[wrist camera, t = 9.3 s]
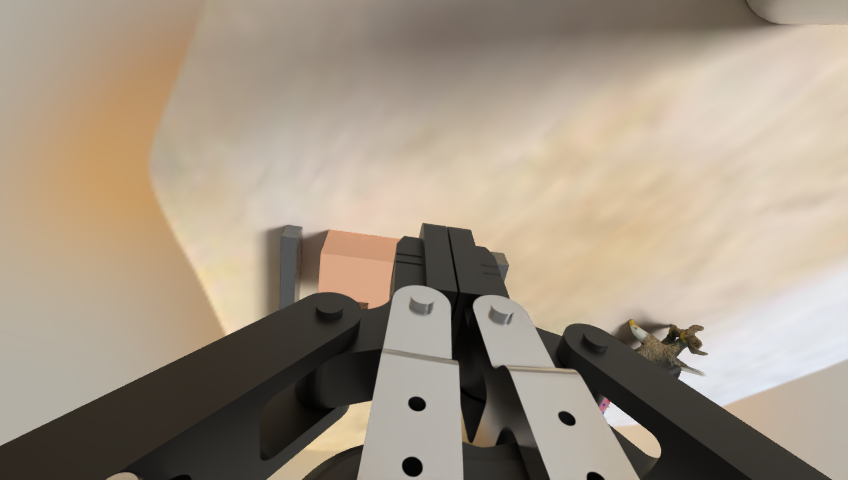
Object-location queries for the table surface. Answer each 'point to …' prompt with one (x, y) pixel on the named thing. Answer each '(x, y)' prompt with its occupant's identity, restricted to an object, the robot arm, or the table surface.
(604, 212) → the table surface
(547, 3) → the table surface
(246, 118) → the table surface
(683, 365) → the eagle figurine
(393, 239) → the T-block
